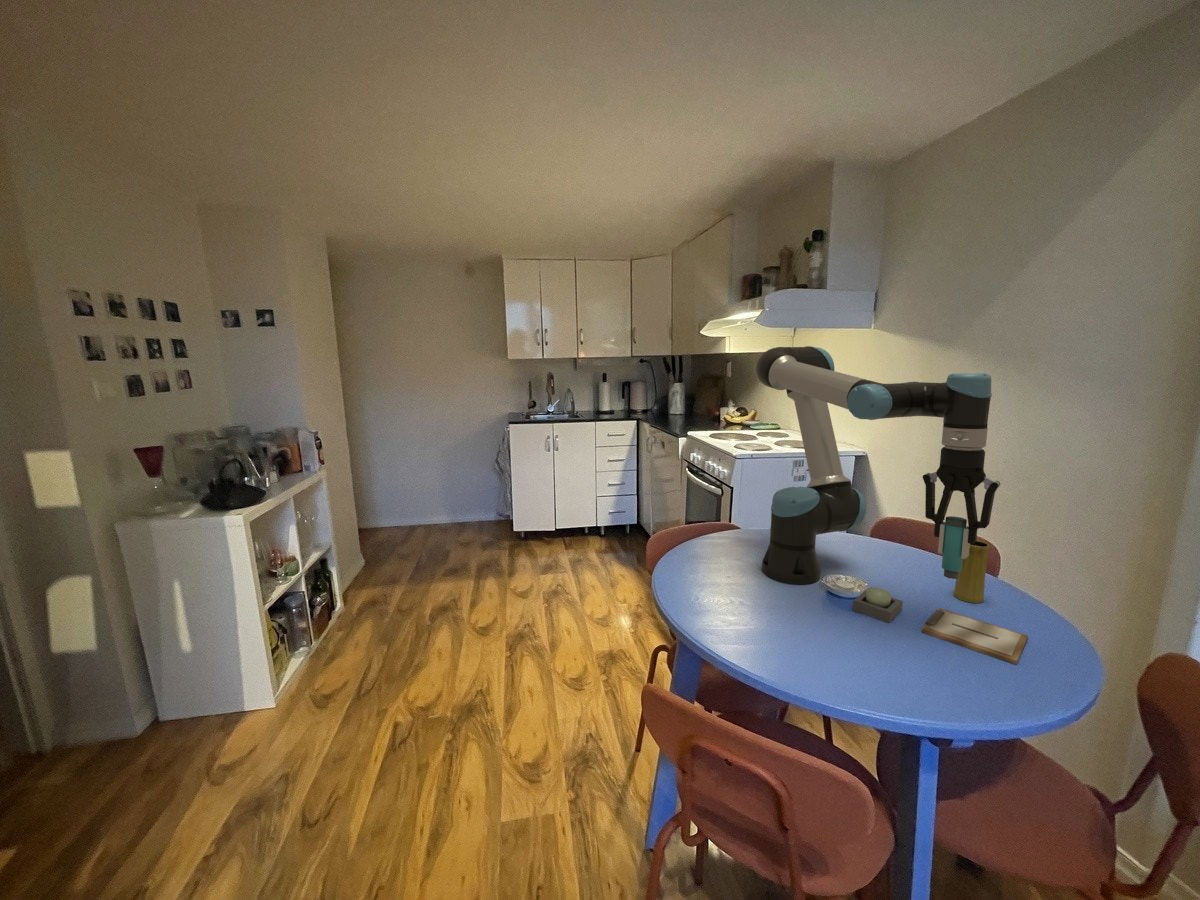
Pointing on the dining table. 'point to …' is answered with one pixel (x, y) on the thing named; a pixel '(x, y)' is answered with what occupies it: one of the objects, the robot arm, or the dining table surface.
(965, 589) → the vase
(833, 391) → the robot arm
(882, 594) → the button
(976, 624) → the drawing board
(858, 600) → the button frame
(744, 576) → the dining table surface
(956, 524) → the marker
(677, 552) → the dining table surface
